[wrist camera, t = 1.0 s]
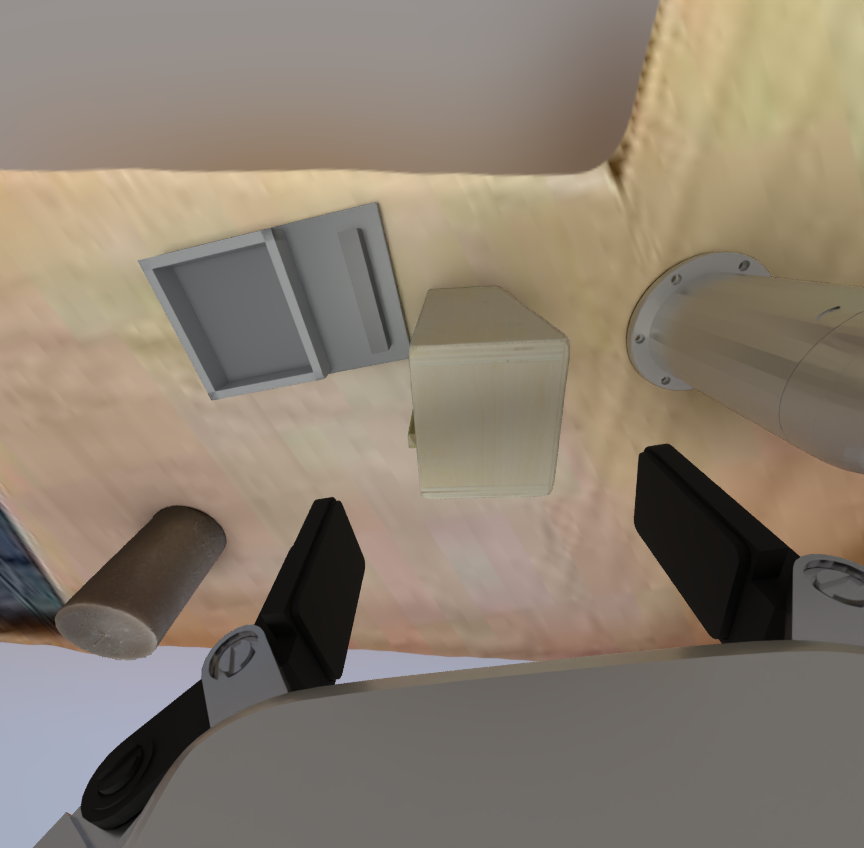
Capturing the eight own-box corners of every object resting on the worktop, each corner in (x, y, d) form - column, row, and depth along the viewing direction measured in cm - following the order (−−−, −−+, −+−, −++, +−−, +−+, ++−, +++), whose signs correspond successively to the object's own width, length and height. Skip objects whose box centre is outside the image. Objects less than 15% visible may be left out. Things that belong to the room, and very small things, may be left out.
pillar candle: (139, 508, 46) (16, 619, 32) (210, 502, 45) (114, 614, 32) (173, 560, 50) (77, 676, 37) (238, 556, 50) (164, 673, 36)
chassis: (378, 203, 30) (370, 198, 26) (413, 354, 36) (410, 365, 32) (164, 255, 32) (133, 257, 29) (231, 389, 38) (211, 403, 34)
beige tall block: (419, 287, 33) (390, 347, 14) (498, 282, 32) (578, 338, 14) (424, 369, 36) (407, 504, 18) (496, 366, 36) (556, 500, 17)
